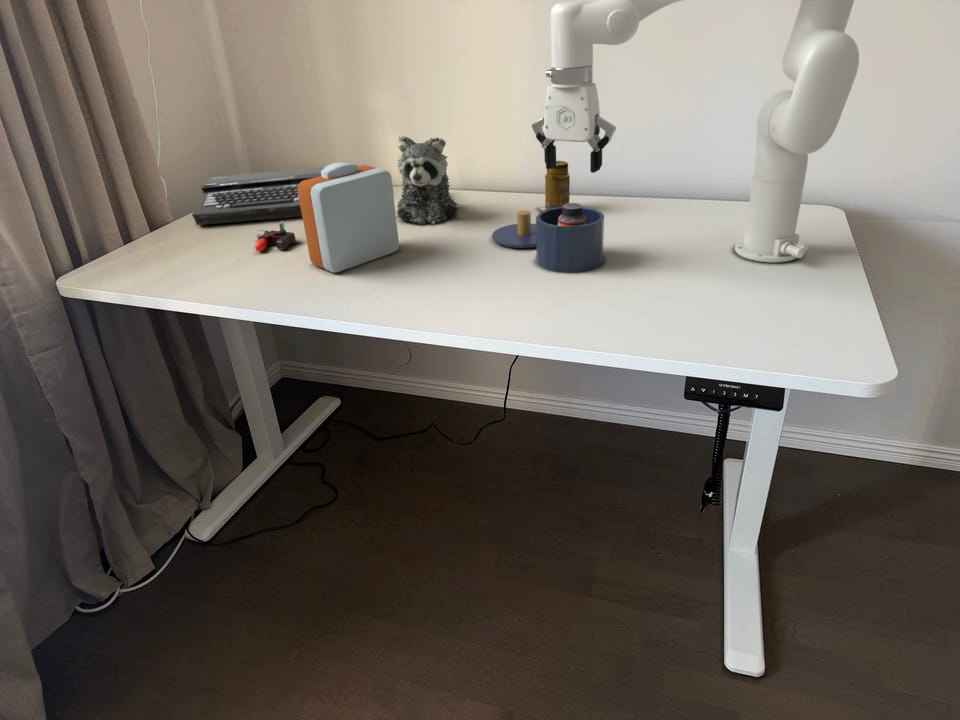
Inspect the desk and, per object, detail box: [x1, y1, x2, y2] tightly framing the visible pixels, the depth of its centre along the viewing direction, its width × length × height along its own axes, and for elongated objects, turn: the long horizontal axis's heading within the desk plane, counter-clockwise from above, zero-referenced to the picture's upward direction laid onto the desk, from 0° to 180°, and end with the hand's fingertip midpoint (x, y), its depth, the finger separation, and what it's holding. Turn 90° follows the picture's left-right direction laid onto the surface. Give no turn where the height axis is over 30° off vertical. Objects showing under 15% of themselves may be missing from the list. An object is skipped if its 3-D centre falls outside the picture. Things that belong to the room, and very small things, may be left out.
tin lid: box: [491, 210, 536, 249], centre depth 158 cm, size 15×15×6 cm
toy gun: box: [254, 220, 297, 253], centre depth 163 cm, size 10×12×5 cm
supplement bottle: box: [558, 202, 587, 226], centre depth 143 cm, size 6×6×11 cm
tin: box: [535, 206, 605, 273], centre depth 144 cm, size 14×14×10 cm
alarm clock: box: [297, 161, 400, 274], centre depth 149 cm, size 18×9×21 cm, turn 134°
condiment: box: [539, 160, 571, 212], centre depth 173 cm, size 7×8×12 cm
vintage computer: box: [191, 164, 359, 226], centre depth 190 cm, size 43×29×8 cm
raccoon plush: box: [396, 136, 459, 226], centre depth 176 cm, size 15×32×21 cm, turn 14°
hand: (572, 169), depth 137 cm, fingers open, 9 cm apart
